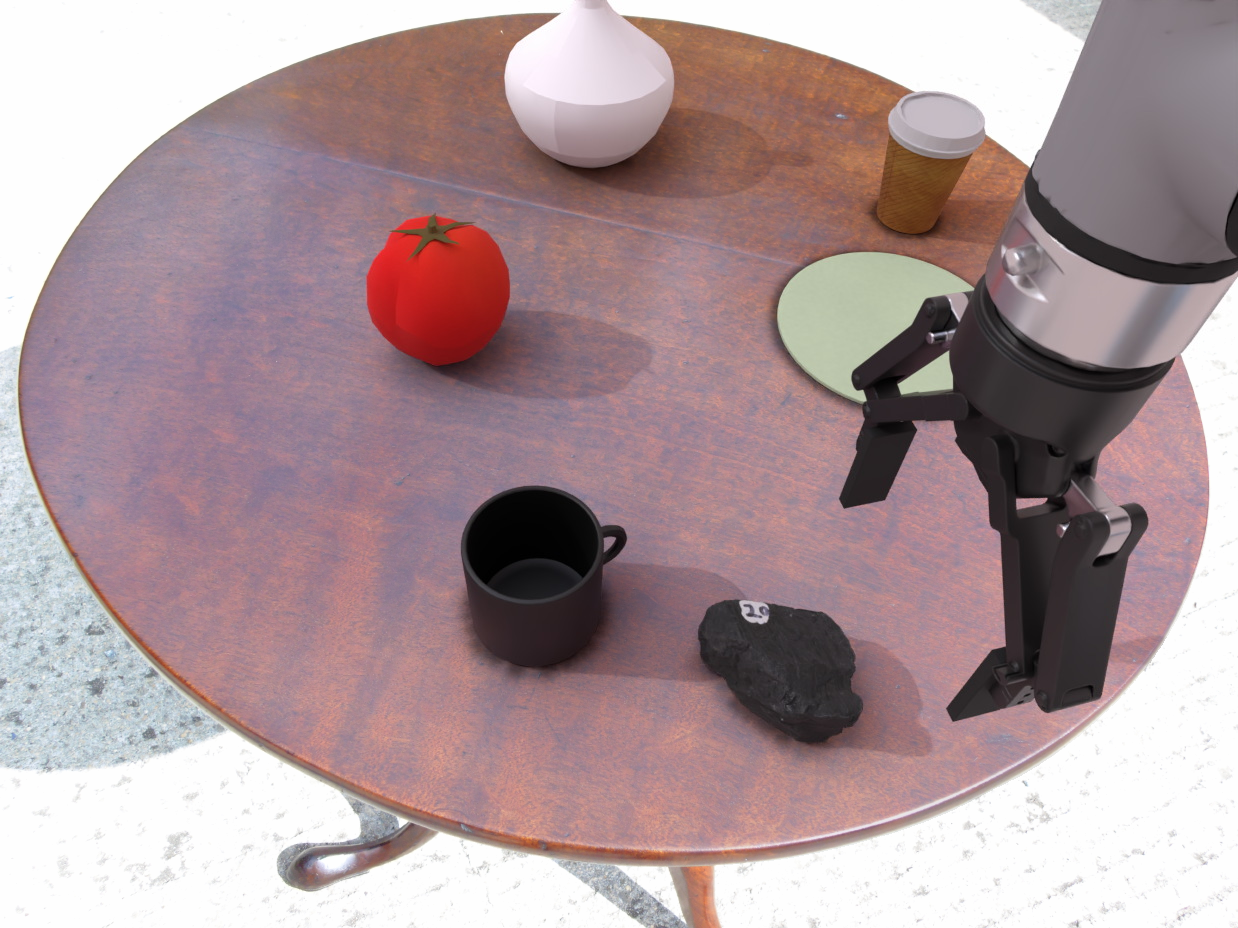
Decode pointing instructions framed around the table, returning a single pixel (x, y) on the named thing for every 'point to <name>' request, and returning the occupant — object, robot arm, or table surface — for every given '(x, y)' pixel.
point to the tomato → (438, 289)
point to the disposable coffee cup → (926, 157)
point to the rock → (784, 665)
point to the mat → (860, 316)
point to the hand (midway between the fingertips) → (912, 596)
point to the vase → (589, 86)
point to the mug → (536, 573)
